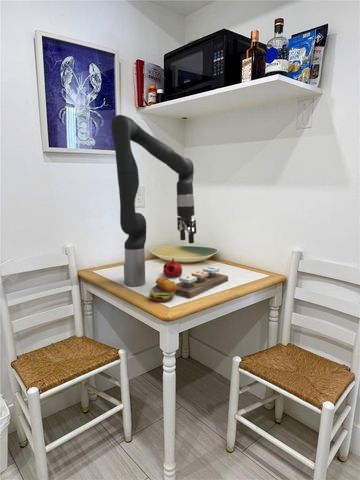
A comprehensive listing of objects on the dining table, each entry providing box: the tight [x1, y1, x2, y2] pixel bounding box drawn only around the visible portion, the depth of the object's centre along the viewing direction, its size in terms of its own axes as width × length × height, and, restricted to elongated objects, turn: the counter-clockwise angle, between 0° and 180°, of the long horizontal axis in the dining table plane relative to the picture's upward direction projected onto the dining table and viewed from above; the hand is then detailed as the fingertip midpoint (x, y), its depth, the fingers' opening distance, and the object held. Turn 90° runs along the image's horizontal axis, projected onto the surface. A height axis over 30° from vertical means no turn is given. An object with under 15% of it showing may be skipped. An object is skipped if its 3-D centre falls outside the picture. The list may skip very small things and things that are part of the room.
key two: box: [191, 270, 209, 283], centre depth 153 cm, size 6×6×4 cm
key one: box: [178, 274, 197, 288], centre depth 146 cm, size 6×6×4 cm
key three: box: [202, 266, 220, 278], centre depth 160 cm, size 6×6×4 cm
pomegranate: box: [162, 257, 183, 279], centre depth 168 cm, size 10×10×9 cm
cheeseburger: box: [148, 276, 177, 303], centre depth 138 cm, size 10×11×10 cm
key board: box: [174, 272, 229, 299], centre depth 153 cm, size 12×30×2 cm, turn 141°
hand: (187, 241), depth 147 cm, fingers open, 8 cm apart
